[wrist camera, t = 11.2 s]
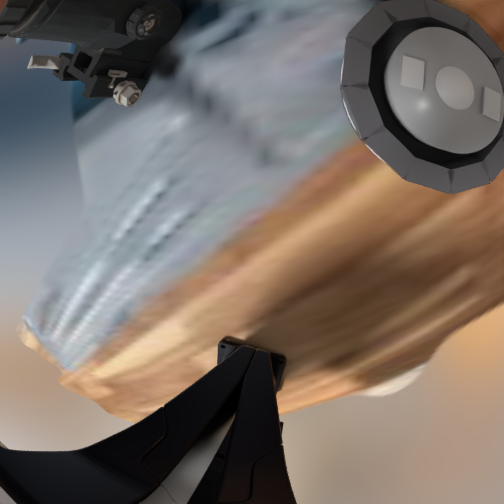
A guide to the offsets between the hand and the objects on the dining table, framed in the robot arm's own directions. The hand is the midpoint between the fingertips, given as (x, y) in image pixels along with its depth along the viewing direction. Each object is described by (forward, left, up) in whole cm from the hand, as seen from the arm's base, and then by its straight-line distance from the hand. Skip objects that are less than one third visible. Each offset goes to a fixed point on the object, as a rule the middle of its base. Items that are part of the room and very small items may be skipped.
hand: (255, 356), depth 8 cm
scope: (+13, +13, -13) cm, 22 cm away
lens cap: (+10, -6, -10) cm, 15 cm away
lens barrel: (+10, -6, -12) cm, 17 cm away
